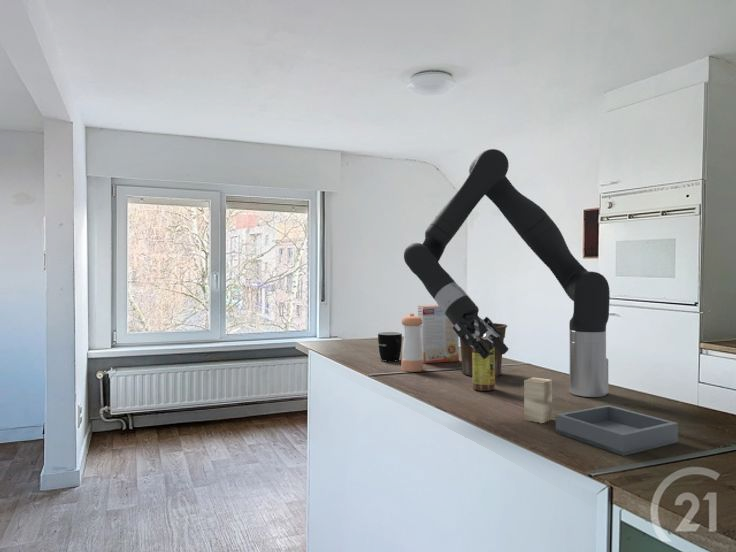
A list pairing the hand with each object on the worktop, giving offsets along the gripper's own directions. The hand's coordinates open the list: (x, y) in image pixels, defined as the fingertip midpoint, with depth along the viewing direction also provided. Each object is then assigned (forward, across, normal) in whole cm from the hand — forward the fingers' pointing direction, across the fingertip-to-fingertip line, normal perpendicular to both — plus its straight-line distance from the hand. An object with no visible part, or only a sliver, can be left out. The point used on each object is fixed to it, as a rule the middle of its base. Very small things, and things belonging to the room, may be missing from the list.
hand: (496, 354), depth 130 cm
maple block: (+17, 0, +2) cm, 17 cm away
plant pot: (-9, +38, +29) cm, 49 cm away
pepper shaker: (-24, +29, +44) cm, 58 cm away
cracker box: (-26, +48, +46) cm, 71 cm away
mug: (-36, +38, +56) cm, 77 cm away
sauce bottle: (0, +19, +20) cm, 28 cm away
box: (+29, -2, -10) cm, 31 cm away
